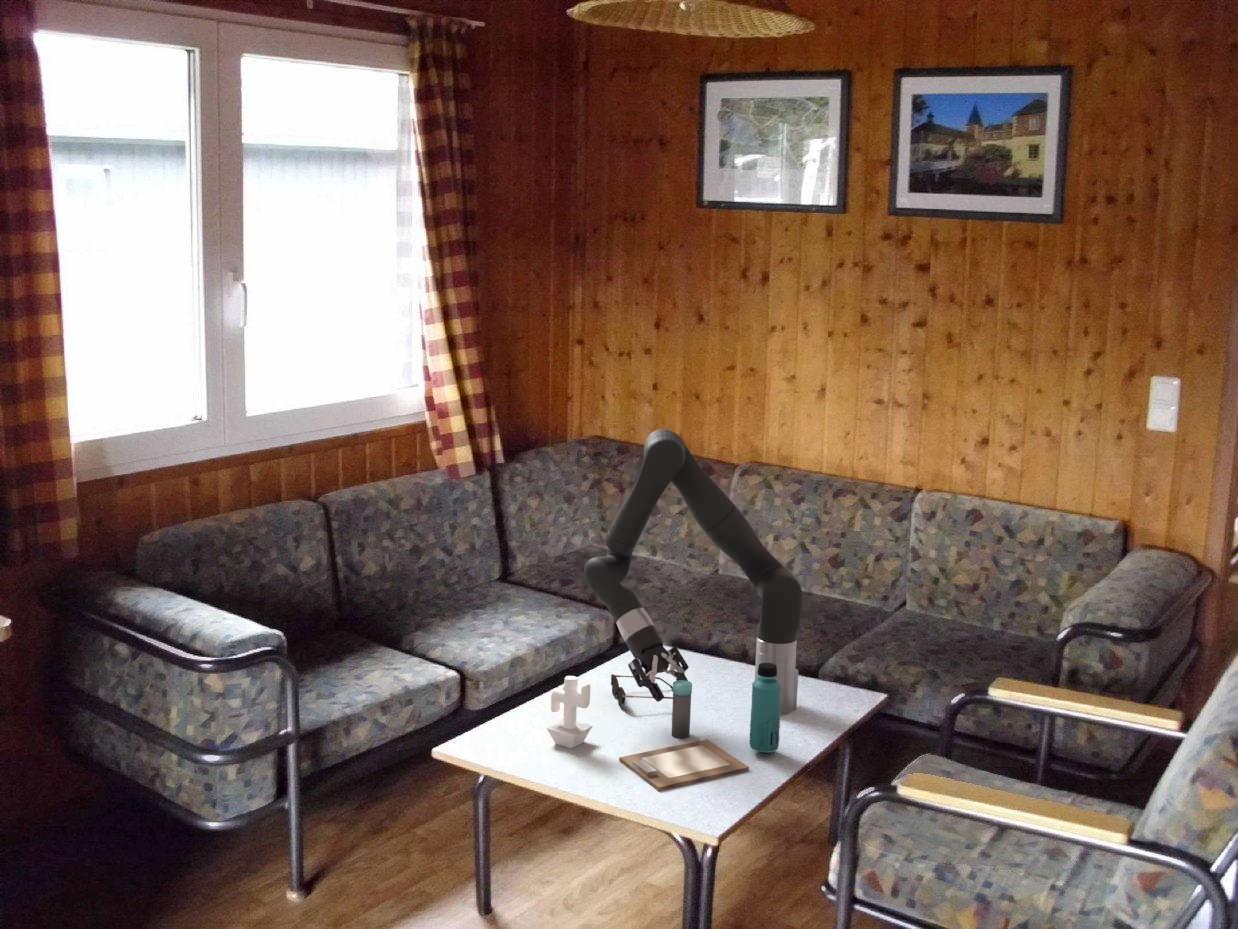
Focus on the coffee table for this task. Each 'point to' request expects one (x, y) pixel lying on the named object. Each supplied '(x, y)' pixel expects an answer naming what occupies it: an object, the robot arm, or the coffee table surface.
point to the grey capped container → (681, 709)
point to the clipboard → (683, 764)
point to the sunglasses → (621, 694)
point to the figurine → (570, 713)
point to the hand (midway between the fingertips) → (674, 695)
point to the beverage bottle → (765, 710)
